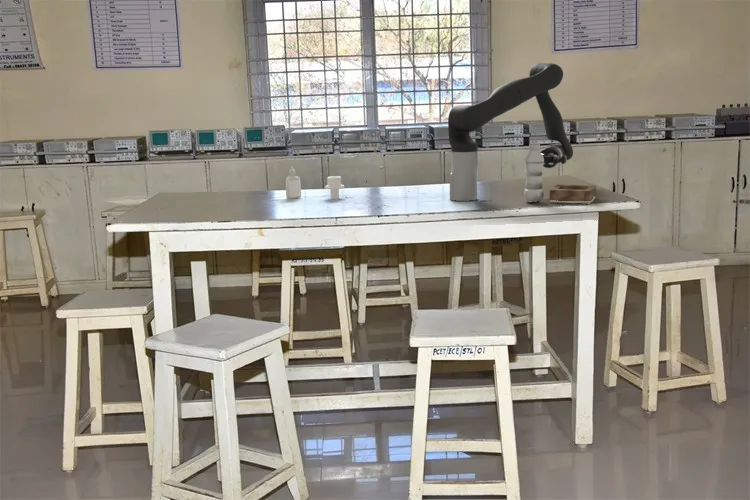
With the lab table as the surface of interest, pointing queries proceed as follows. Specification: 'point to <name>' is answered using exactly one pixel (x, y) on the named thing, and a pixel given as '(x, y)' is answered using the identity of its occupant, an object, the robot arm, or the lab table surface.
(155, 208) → the lab table surface
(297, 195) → the eye dropper bottle
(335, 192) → the pipe fitting
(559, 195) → the wooden square frame
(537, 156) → the plastic bottle
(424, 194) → the lab table surface
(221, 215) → the lab table surface
